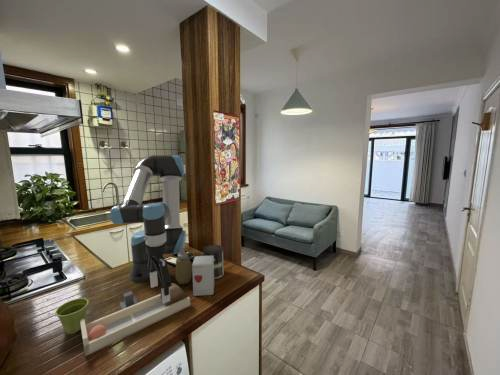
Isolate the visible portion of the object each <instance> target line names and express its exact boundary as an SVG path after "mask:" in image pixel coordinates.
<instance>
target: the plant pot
mask: <svg viewBox="0 0 500 375" xmlns="http://www.w3.org/2000/svg"><path fill="white" fill-rule="evenodd" d="M89 302H90V301H89V300H88V298H85V297H81V298H75V299H71V300H69V301H67V302H64V303H63V304H61V305H60V306H58V308H57V309H56V310H55V311H54V312H55V314H54V315H55V316H57V318H58V319H59V322H60V323H61V326H62V328H63V331H64V333H65V334H66V335H71V334H72V335H73V334H75V333H76V334H77V333H78V332H79V331H81V324H80V320H81V319H84V320H85V324H87V308H88V305H89Z"/></svg>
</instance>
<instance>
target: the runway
mask: <svg viewBox="0 0 500 375" xmlns="http://www.w3.org/2000/svg"><path fill="white" fill-rule="evenodd" d="M189 307H191V298H190V296H187V297H185V299H183V300H181V301H178V302H176V303H174V304H172V305H169V306H166V305H165V304H163V303H162V300H161V293H159V294H157V295H154V296H152V297H149V298H147V299H145V300H141V301H139V302H138V303H137V304H134V305H132V306H129V307H127V308H125V309H119V310H117V311H115V312H113V313H110V314H107V315H105V316H103V317H100V318H98V319H95V320H93V321H90V322H88V323H86V324H85V320H84V319H81V320H80V324H81V329H80V331H81V337H82V343H83V350H84V356H85V357H87V356H90V355H91V354H94V353H95V352H98V351H100V350H102V349H104V348H106V347H108V346H110V345H112V344H114V343H116V342H118V341H120V340H122V339H124V338H127V337H129V336H131V335H132V334H136V333H137V332H139V331H142V330H143V329H146V328H147V327H150V326H151V325H153V324H155V323H158V322H160V321H161V320H164V319H166V318H168V317H170V316H172V315H174V314H177V313H178V312H180V311H183V310H184V309H186V308H189ZM97 325H103V326H105V328H106V330H107V332H106V334H105V335H103V336H101V337H99V338H96V339H94V340H92V341H90V340H89V333H90V331H91V330H92V328H94V327H95V326H97Z"/></svg>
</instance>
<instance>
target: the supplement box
mask: <svg viewBox="0 0 500 375" xmlns="http://www.w3.org/2000/svg"><path fill="white" fill-rule="evenodd" d="M191 270H192V294H193V297H195V296H197V297H199V296H211V295H212V296H213V295H214V290H215V279H214V256H204V255H196V256H194V258H193V262H192V264H191Z"/></svg>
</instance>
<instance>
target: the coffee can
mask: <svg viewBox="0 0 500 375" xmlns="http://www.w3.org/2000/svg"><path fill="white" fill-rule="evenodd" d="M202 251H203V256H214V280H217V279H220V278H222V277H223V276H224V273H225V272H224V247H223V246H222V245H218V244H211V245H207V246H205V247H203V250H202Z"/></svg>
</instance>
